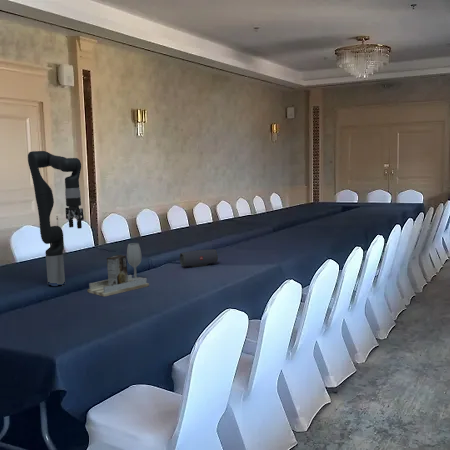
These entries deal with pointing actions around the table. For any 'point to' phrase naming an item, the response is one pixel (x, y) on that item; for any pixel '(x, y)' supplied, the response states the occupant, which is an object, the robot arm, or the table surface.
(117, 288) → the track base
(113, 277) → the coffee box
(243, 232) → the table surface
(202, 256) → the bluetooth speaker
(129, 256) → the wineglass
